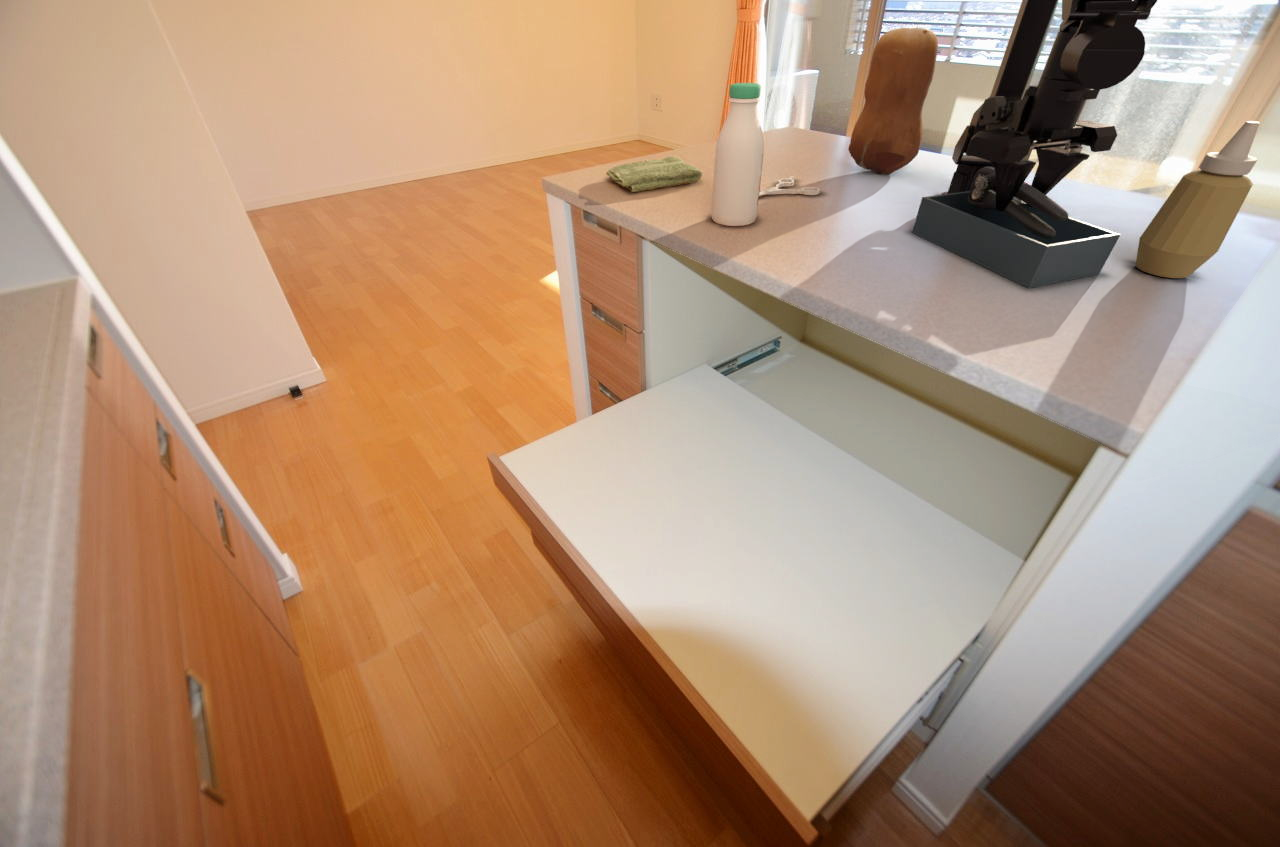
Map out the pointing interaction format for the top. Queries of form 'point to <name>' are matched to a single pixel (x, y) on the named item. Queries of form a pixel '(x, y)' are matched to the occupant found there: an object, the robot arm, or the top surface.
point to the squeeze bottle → (1199, 210)
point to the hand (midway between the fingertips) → (1014, 208)
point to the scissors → (788, 183)
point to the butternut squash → (894, 100)
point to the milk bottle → (738, 159)
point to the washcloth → (654, 174)
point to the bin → (1014, 241)
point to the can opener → (1016, 203)
